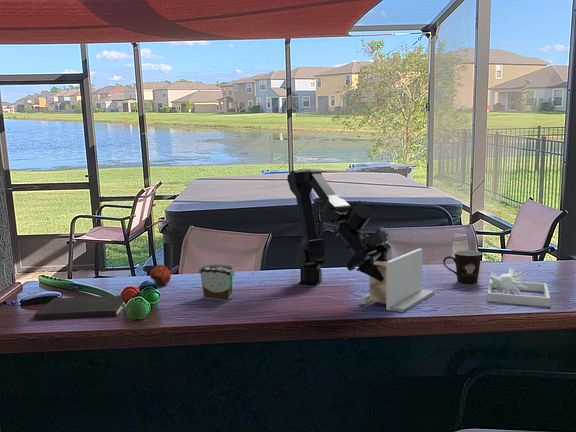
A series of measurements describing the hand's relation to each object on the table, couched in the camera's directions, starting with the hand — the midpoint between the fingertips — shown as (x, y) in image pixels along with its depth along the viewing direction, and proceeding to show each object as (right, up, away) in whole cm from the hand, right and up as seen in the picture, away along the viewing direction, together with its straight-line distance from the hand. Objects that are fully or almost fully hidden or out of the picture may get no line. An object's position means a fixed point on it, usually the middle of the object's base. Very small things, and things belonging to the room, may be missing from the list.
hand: (386, 278), depth 154 cm
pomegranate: (-74, -6, +30) cm, 80 cm away
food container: (-50, -8, +14) cm, 53 cm away
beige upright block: (-1, -6, +2) cm, 7 cm away
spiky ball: (+39, -6, +10) cm, 41 cm away
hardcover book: (-90, -11, +4) cm, 91 cm away
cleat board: (+5, -7, +6) cm, 11 cm away
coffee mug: (+31, -4, +25) cm, 40 cm away
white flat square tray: (+41, -6, +6) cm, 42 cm away
